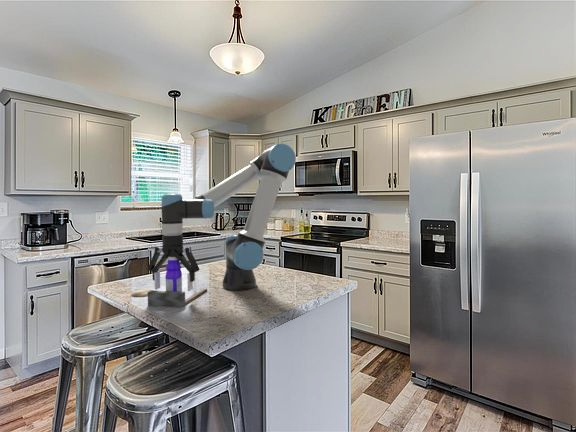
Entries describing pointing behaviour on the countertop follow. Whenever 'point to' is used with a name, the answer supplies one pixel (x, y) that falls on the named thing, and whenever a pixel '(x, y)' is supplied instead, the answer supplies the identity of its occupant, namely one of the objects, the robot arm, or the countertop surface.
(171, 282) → the bottle
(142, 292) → the cork trivet
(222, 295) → the countertop surface
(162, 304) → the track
